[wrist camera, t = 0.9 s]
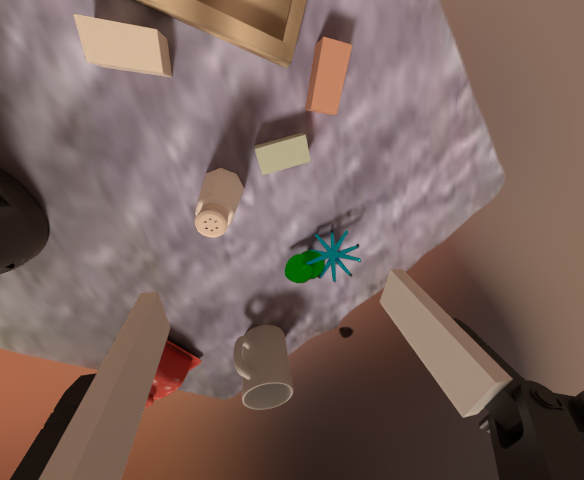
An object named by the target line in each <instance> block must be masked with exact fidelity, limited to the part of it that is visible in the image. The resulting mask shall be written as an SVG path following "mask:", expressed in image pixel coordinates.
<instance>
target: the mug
mask: <svg viewBox="0 0 584 480" xmlns="http://www.w3.org/2000/svg"><path fill="white" fill-rule="evenodd" d="M242 345H243V359H242ZM234 364H235V368H236V370H237V372H238V373H239V374H240V375H241V376H242V401H243V403H244V405H245V406H247V407H249V408H252V409H269V408H273V407H277V406H279V405H281V404H283V403H285V402H286V401H287V400H289V399H290V397H291V396H292V394H293V385H292V379H291V373H290V367H289V361H288V354H287V348H286V341H285V335H284V332H283V331H282V329H280V328H279V327H277V326H275V325H269V324H265V325H259V326H256V327H254V328H252V329H250V330H249V331H248V332H247V333H246V334H245V336H241V337H239V338H238V339H237V341H236V343H235V347H234Z"/></svg>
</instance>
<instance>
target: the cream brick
mask: <svg viewBox="0 0 584 480" xmlns="http://www.w3.org/2000/svg"><path fill="white" fill-rule="evenodd" d="M74 18H75V22H76V25H77V29H78V32H79V36H80V40H81V43H82V47H83V51H84V54H85V58H86V62H89V63H92V64H96V65H99V66H102V67H105V68H112V69H119V70H126V71H133V72H139V73H146V74H153V75H160V76H167V77H172V72H171V64H170V57H169V49H168V41H167V38H166V37H165V36H164V35H162V34H161V33H160V32H159V31H158V30H157V29H152V28H147V27H141V26H136V25H131V24H125V23H120V22H114V21H109V20H104V19H98V18H93V17H88V16H82V15H77V14H74Z"/></svg>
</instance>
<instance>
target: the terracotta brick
mask: <svg viewBox="0 0 584 480" xmlns="http://www.w3.org/2000/svg"><path fill="white" fill-rule="evenodd" d="M351 49H352V45H351V44H348V43H344V42H341V41H337V40H334V39H330V38H327V37H323V38H322V39H321V40H320V41H319V42H318V43H317V44H316V46H315V52H314V58H313V64H312V70H311V76H310V82H309V89H308V95H307V101H306V107H305V110H308V111H313V112H318V113H323V114H328V115H337V111H338V106H339V102H340V98H341V93H342V89H343V84H344V80H345V75H346V71H347V66H348V62H349V57H350V53H351Z"/></svg>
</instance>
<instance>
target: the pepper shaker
mask: <svg viewBox="0 0 584 480" xmlns="http://www.w3.org/2000/svg"><path fill="white" fill-rule="evenodd" d="M243 191H244V187H243V185H242V183H241V181H240V179H239V177H238V175H237V174H235V173H233V172H230V171H228V170H225V169H223V168H219V169H216V170H214V171H211V172H209V173H206V174H205V178H204V181H203V185H202V188H201V192H200V196H199V200H198V203H197V207H196V212H195V214H196V218H195V226H196V228H197V230H198V231H199V232H200V233H201V234H203V235H204V236H207V237H218V236H221V235H222V234H224V233H225V231H226V230H227V227H228V225H230V223H231V221H232V219H233V216H234V214H235V212H236V209H237V207H238V204H239V202H240V199H241V196H242V194H243Z"/></svg>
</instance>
